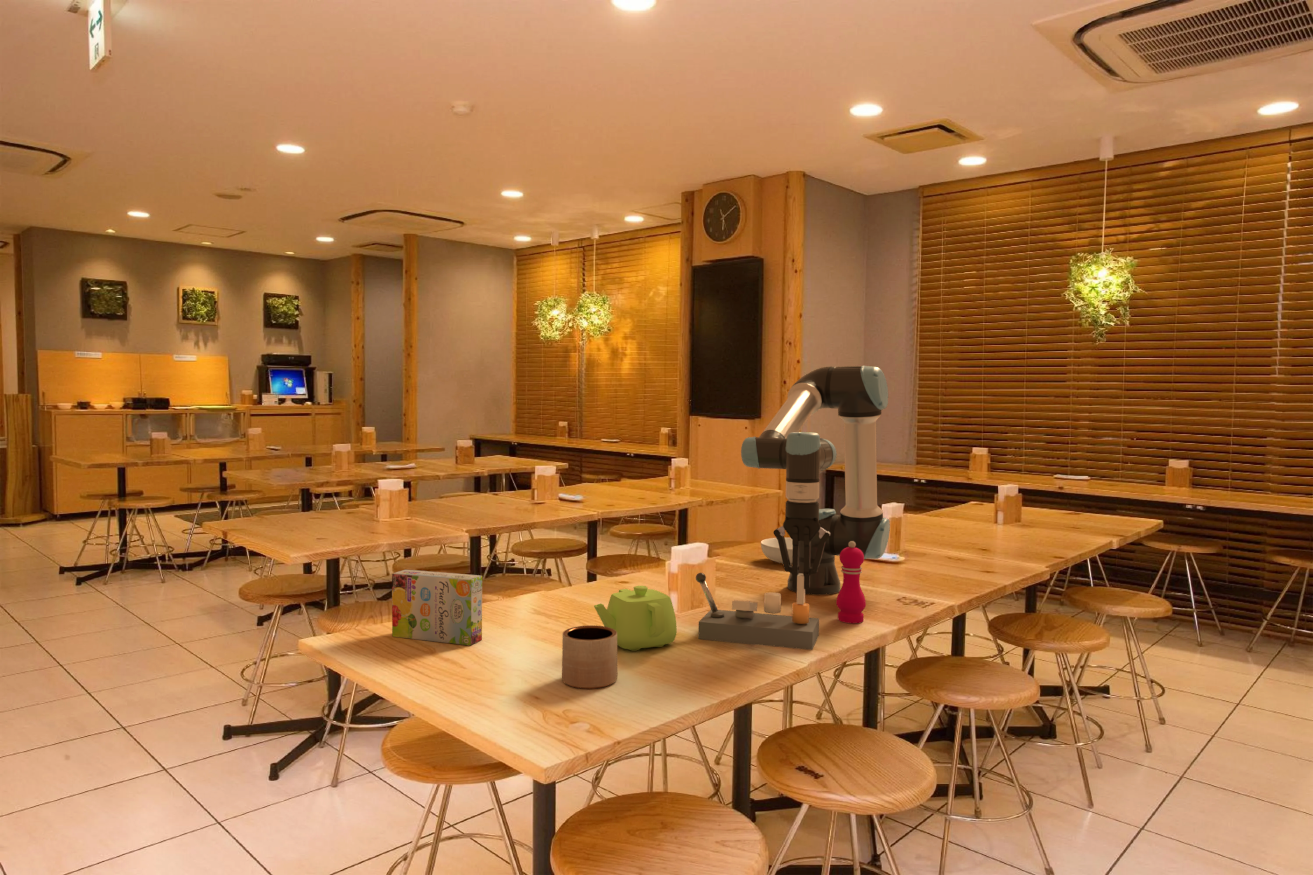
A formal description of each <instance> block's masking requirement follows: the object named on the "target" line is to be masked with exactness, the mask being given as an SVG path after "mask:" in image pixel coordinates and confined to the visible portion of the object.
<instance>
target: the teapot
mask: <svg viewBox="0 0 1313 875" xmlns="http://www.w3.org/2000/svg"><path fill="white" fill-rule="evenodd" d="M593 607H594V609H595V611H596V613H597V615H598V616H599V619H600V621H601V623H602V626H605V627H609V628H612V629H614V630H616V631H617V647H619V648H622V649H623V650H629V651H634V652H635V651H636V652H637V651H640V650H641V649H646V648H653V647H656V648H662V647H664V646H665V645H668V644H672V643H674V641H675V639H676V636H677V619H676V612H675V609H674V605H673V601H672V598H671V596H670V595H668V594H666V593H663V592H661V591H660V590H657V589H653V588H649V587H648V586H646V585H635V586H633V590H631V589H629V588H623V589H618V592H613V593H611V594H610V598H609V601H608V605H607V607H606V606H605V604H603V603H598V604H594V606H593Z"/></svg>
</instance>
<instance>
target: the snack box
mask: <svg viewBox="0 0 1313 875" xmlns="http://www.w3.org/2000/svg"><path fill="white" fill-rule="evenodd" d="M391 575H392V576H391V607H392V608H391V626H392V627H391V628H392V630H391V632H392V633H391V635H392V637H393V638H402V639H412V640H419V641H420V640H421V641H429V642H438V643H447V644H454V645H455V644H456V645H464V646H472V645H474V644H476V643H479V642H481V641H483V575H479V574H478V575H477V574H465V573H455V572H442V571H441V572H439V571H427V570H415V569H403V570H399V571H396V572H393V573H392V574H391Z"/></svg>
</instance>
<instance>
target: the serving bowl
mask: <svg viewBox="0 0 1313 875" xmlns="http://www.w3.org/2000/svg"><path fill="white" fill-rule="evenodd" d="M784 538H785V542H786V546H787V551H788V555H789V559H790V564H791V566H792V553H793V545H792V539H791V538H790V537H784ZM760 547H761V551H762V553H763V554H764V556H765V557H766V558H767V559H769V560H770V561H773V562H775V563H778V564H780V563H782V564H781V565H783V561H782V557H781V552H780V548H779V543H778V540H777V538H776V537H770V538H765V539H762V540H761V541H760Z"/></svg>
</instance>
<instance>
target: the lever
mask: <svg viewBox="0 0 1313 875" xmlns="http://www.w3.org/2000/svg"><path fill="white" fill-rule="evenodd" d="M706 579H707V576H706V574H705V573H703V572H698V573H697V574H696V575H695V580H696V582H698V583H699V584H700V587H701V589H702V591H703V594H704V596H705V599H706V600H707V604H708V606H709V607H710V610H712V612H713V613H714V612H717V611H718V610H719V609H718V607H717V604H716V602H715V600H714V598H713V596H712V593H711V591H710V589H709V586H708V584H707V582H706Z"/></svg>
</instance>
